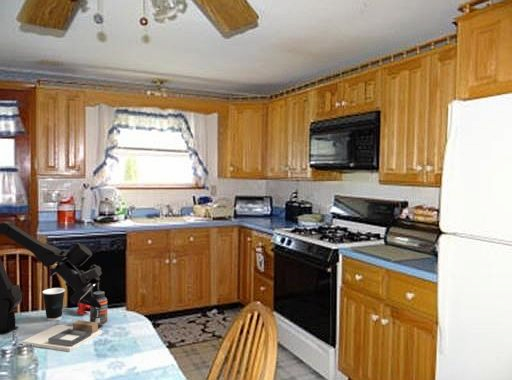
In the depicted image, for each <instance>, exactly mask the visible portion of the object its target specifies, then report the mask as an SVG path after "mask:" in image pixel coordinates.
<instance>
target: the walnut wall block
mask: <svg viewBox="0 0 512 380" xmlns="http://www.w3.org/2000/svg"><path fill="white" fill-rule="evenodd" d="M72 327H73V329H76V330H83V331H91V334H94V333H95V332H97V331H98V330H99V325H98V323H97V322H90V320H89V321H87V320H79V319H78V320H77V321H74V322H72Z"/></svg>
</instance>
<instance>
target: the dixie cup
mask: <svg viewBox="0 0 512 380" xmlns="http://www.w3.org/2000/svg"><path fill="white" fill-rule="evenodd" d="M65 292H66V289H65V288H62V287H52V288H47V289H44V290H43V291H41V293H42V295H43V302H44V310H45V317H46V319H47V321H48V322H54V321H59V320H61V318H62V316H63V308H64V307H63V306H64V296H65Z"/></svg>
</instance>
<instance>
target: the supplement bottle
mask: <svg viewBox="0 0 512 380" xmlns="http://www.w3.org/2000/svg"><path fill="white" fill-rule="evenodd" d="M93 296H94V297H95V298H96V299H97V301H98V302H99V303H100V305H101V307H100V308H96V307H93V306H90V312H89V322H97V323H98V326H102V325H105V324H106V323H107V322H108V298H107V297H106V296H105V291H102V290H100V291H97V292H94V293H93Z"/></svg>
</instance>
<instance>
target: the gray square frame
mask: <svg viewBox="0 0 512 380" xmlns="http://www.w3.org/2000/svg"><path fill="white" fill-rule="evenodd" d="M68 334H73V335H80V336H79V337H77V338H76V339H74V340H72V341H71V340H63V339H60V338H62V337H64V336H66V335H68ZM90 336H91V331H83V330H76V329H67V330H65V331H63V332H61V333H59V334H57V335H55V336H52V337H50V338H48V343H51V344H58V345H65V346H74V345H76V344H77V343H79V342H81V341H83V340H85V339H86V338H88V337H90Z"/></svg>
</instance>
